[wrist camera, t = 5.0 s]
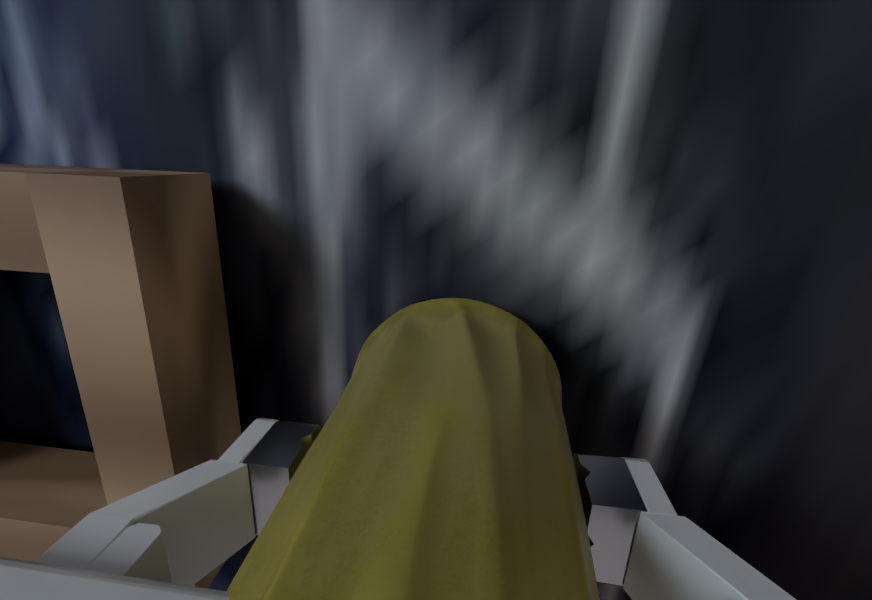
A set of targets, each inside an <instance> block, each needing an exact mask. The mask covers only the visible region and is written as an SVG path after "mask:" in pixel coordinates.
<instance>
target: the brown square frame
mask: <svg viewBox="0 0 872 600" xmlns="http://www.w3.org/2000/svg"><path fill="white" fill-rule="evenodd" d="M0 270H12V271H25V272H39V273H50V276H51V280H52V284H53V288H54V292H55V296H56V300H57V304H58V308H59V312H60V316H61V320H62V324H63V328H64V332H65V336H66V340H67V344H68V348H69V352H70V356H71V360H72V364H73V368H74V372H75V376H76V380H77V384H78V388H79V392H80V396H81V400H82V404H83V408H84V412H85V416H86V420H87V424H88V428H89V432H90V436H91V440H92V444H93V449H94V452H86V451H78V450H70V449H62V448H54V447H46V446H37V445H29V444H21V443H13V442H5V441H0V557H6V558H12V559H19V560H25V561H32V562H34V561H35V560H36V559H37V558H38V557H39V556H41V555H42V554H43V553H44V552H45V551H46V550H48V549H49V548H50V547H51V546H52V545H53V544H54V543H56V542H57V541H58V540H59V539H60V538H61V537H62V536H64V535H65V534H66V533H67V532H68V531H69V530H71V529H72V528H73V527H74V526H75V525H76V524H77V523H79V522H80V521H81V520H82V519H83V518H84V517H85V516H87V515H88V514H89V513H91V512H93V511H96V510H98V509H100V508H103V507H105V506H107V505H109V504H112V503H114V502H116V501H118V500H121V499H123V498H125V497H127V496H130V495H132V494H134V493H136V492H139V491H141V490H143V489H146V488H148V487H150V486H152V485H155V484H157V483H159V482H161V481H164V480H166V479H168V478H170V477H173V476H175V475H177V474H180V473H182V472H184V471H186V470H189V469H191V468H193V467H195V466H198V465H200V464H202V463H204V462H207V461H209V460H218V459H219V458H220V457H221V456H222V455H223V454H224V453H225V452H226V450H227V449H228V448H229V447H230V446H231V445H232V444H233V443H234V442H235V441H236V440H237V439H238V437H239V436H240V435H241V428H240V420H239V411H238V403H237V395H236V387H235V378H234V370H233V362H232V354H231V345H230V337H229V329H228V321H227V312H226V304H225V296H224V288H223V280H222V271H221V263H220V255H219V247H218V238H217V230H216V222H215V214H214V205H213V197H212V189H211V181H210V173H195V172H173V171H151V170H129V169H106V168H84V167H62V166H40V165H18V164H0ZM225 561H226V560H225ZM225 561H224V562H223V563H221V564H220V565H219V566H217V567H216V568H215V569H214V570H212V571H211V572H210V573H208V574H207V575H206V576H204V577H203V578H202V579H200V580H199V581H198V582H197V583H195V584H194V585H193V586H194V587H200V588H208V587H209V585H210V584H211V582H212V581H213V579H214V578H215V576H216V575H217V573H218V572H219V570H220V569H221V567H222V566H223V564H224V563H225Z"/></svg>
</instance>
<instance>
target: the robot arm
mask: <svg viewBox="0 0 872 600" xmlns="http://www.w3.org/2000/svg"><path fill="white" fill-rule="evenodd" d="M321 430H322V428H321V426H320V425H314V424H307V423H299V422H291V421H284V420H275V419H266V418H259V419H255V420H254V421H253V422H252V423H251V425H250V426H249V427H248V428H247V429H246V430H245V431H244V432H243V433H242V434H241V435H240V436H239V437H238V439H237V440H236V441H235V442H234V443H233V444H232V445H231V446H230V447H229V448H228V449H227V450H226V452H225V453H224V454H223V455H222V456H221V457H220V458H219V459H218V460H209V461H207V462H204V463H202V464H200V465H198V466H195V467H193V468H191V469H189V470H186V471H184V472H182V473H180V474H177V475H175V476H173V477H170V478H168V479H166V480H164V481H161V482H159V483H157V484H155V485H152V486H150V487H148V488H146V489H143V490H141V491H139V492H136V493H134V494H132V495H130V496H127V497H125V498H123V499H121V500H118V501H116V502H114V503H112V504H109V505H107V506H105V507H103V508H100V509H98V510H96V511H93V512H91V513H89V514H88V515H87V516H85V517H84V518H83V519H82V520H81V521H80V522H79V523H77V524H76V525H75V526H74V527H73V528H72V529H71V530H69V531H68V532H67V533H66V534H65V535H64V536H62V537H61V538H60V539H59V540H58V541H57V542H56V543H54V544H53V545H52V546H51V547H50V548H49V549H48V550H46V551H45V552H44V553H43V554H42V555H41V556H39V557H38V558H37V559H36V560H35V561H34V562H32V561H25V560H19V559H12V558H6V557H0V600H229V598H230V596H229V593H228V592H226V591H220V590H213V589H207V588H200V587H194V586H193V585H194V584H195V583H197V582H198V581H199V580H200V579H202V578H203V577H204V576H206V575H207V574H208V573H210V572H211V571H212V570H214V569H215V568H216V567H217V566H219V565H220V564H221V563H223V562H224V561H225V560H227V559H228V558H229V557H231V556H232V555H233V554H234V553H236V552H237V551H238V550H240V549H241V548H242V547H244V546H245V545H246V544H248V543H249V542H250V541H251V540H253V539H254V538H255V537H256V535H259V534H260V532H261V531H262V529H263V527H264V525H265V524H266V522H267V520H268V519H269V517H270V515H271V514H272V512H273V510H274V508H275V507H276V505H277V503H278V501H279V500H280V498H281V496H282V495H283V493H284V491H285V489H286V487H287V486H288V484H289V482H290V480H291V479H292V477H293V475H294V474H295V472H296V470H297V468H298V467H299V465H300V463H301V462H302V460H303V458H304V457H305V455H306V453H307V452H308V450H309V449H310V447H311V445H312V444H313V442H314V441H315V439H316V438H317V436H318V435H319V433H320V431H321ZM573 462H574V466H575V471H576V476H577V481H578V485H579V490H580V496H581V501H582V506H583V511H584V516H585V521H586V526H587V531H588V537H589V542H590V547H591V553H592V559H593V564H594V570H595V576H596V581H597V582H603V583H609V584H615V585H621V586H623V589H624V590H625V591H626V592H627V594H628V595H629V596H630V597H631V599H632V600H796V599H795V598H794V597H792V596H791V595H790V594H788V593H787V592H786V591H784V590H783V589H782V588H780V587H779V586H777V585H776V584H775V583H773V582H772V581H771V580H769V579H768V578H767V577H765V576H764V575H763V574H761V573H760V572H759V571H757V570H756V569H755V568H753V567H752V566H751V565H749V564H748V563H747V562H745V561H744V560H743V559H741V558H740V557H739V556H737V555H736V554H735V553H733V552H732V551H731V550H729V549H728V548H727V547H725V546H724V545H723V544H721V543H720V542H719V541H717V540H716V539H715V538H713V537H712V536H711V535H709V534H708V533H707V532H705V531H704V530H702V529H701V528H700V527H698V526H697V525H696V524H694V523H693V522H692V521H690V520H689V519H688V518H686V517H683V516H678V515H677V513H676V511H675V510H674V508H673V506H672V504H671V502H670V500H669V498H668V496H667V495H666V493H665V491H664V489H663V487H662V485H661V483H660V481H659V479H658V478H657V476H656V474H655V472H654V470H653V468H652V466H651V464H650V463H649V462H648V461H647V460H646V459H637V458H625V457H621V458H617V457H607V456H597V455H587V454H577V453H574V456H573Z"/></svg>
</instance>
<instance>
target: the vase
mask: <svg viewBox="0 0 872 600" xmlns="http://www.w3.org/2000/svg"><path fill="white" fill-rule="evenodd" d="M561 405H562V387H561V380H560V375H559V371H558V369H557V366H556V364H555V361H554V359H553V357H552V355H551V353H550V352H549V350H548V349H547V347H546V346H545V344H544V343H543V341H542V340H541V339H540V337H539V336H538V335H537V334H536V333H535V332H534V331H533V330H532V329H531V328H530V327H529V326H528V325H527V324H525V323H524V322H523V321H521V320H520V319H519V318H517V317H515V316H514V315H512V314H510V313H509V312H507V311H504V310H502V309H500V308H498V307H496V306H493V305H490V304H488V303H484V302H480V301H477V300H471V299H465V298H441V299H432V300H428V301H423V302H419V303H416V304H412V305H409V306H407V307H405V308H403V309H401V310H399V311H398V312H396V313H395V314H393V315H392V316H390V317H389V318H388V319H387V320H386V321H384V322H383V323H382V324H381V325H380V326H379V327H378V328H376V329H375V330H374V331H373V332H372V333H371V335H370V336H369V337H368V339H367V340H366V341H365V343H364V344H363V347H362V349H361V351H360V353H359V355H358V358H357V361H356V364H355V367H354V370H353V373H352V377H351V379H350V381H349V383H348V385H347V386H346V388H345V390H344V392H343V394H342V395H341V397H340V399H339V401H338V403H337V405H336V406H335V408H334V410H333V411H332V413H331V415H330V417H329V418H328V420H327V422H326V423H325V425H324V426H323V428H322V430H321V431H320V433H319V435H318V436H317V438H316V439H315V441H314V442H313V444H312V445H311V447H310V449H309V450H308V452H307V453H306V455H305V457H304V458H303V460H302V462H301V463H300V465H299V467H298V468H297V470H296V472H295V474H294V475H293V477H292V479H291V480H290V482H289V484H288V486H287V487H286V489H285V491H284V493H283V495H282V496H281V498H280V500H279V501H278V503H277V505H276V507H275V508H274V510H273V512H272V514H271V515H270V517H269V519H268V520H267V522H266V524H265V525H264V527H263V529H262V531H261V532H260V534H259V536H258V537H257V539H256V541H255V542H254V544H253V546H252V548H251V549H250V551H249V553H248V555H247V556H246V558H245V560H244V562H243V563H242V565H241V567H240V569H239V570H238V572H237V574H236V575H235V577H234V579H233V581H232V582H231V584H230V586H229V588H228V589H227V591H226V592H228V593H229V596H230V598H229V600H600V597H599V592H598V587H597V581H596V576H595V570H594V564H593V559H592V553H591V547H590V542H589V537H588V531H587V526H586V521H585V516H584V511H583V506H582V501H581V496H580V490H579V485H578V481H577V476H576V471H575V466H574V462H573V457H572V452H571V448H570V443H569V438H568V433H567V428H566V424H565V419H564V415H563V410H562V406H561Z"/></svg>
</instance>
